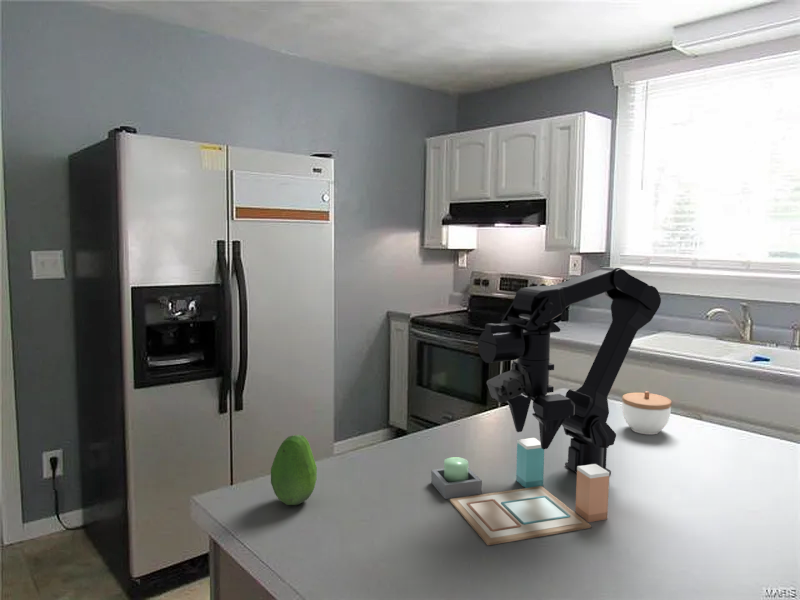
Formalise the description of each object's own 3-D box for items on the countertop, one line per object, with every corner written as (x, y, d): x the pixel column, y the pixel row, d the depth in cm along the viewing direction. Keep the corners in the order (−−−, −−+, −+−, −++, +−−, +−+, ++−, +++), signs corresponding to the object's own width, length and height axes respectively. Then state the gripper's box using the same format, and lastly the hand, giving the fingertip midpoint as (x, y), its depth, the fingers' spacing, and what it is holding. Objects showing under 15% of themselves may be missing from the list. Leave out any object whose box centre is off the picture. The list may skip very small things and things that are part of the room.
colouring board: (541, 488, 106) (541, 484, 106) (590, 527, 92) (591, 523, 92) (449, 501, 101) (449, 497, 101) (487, 545, 87) (487, 541, 87)
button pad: (465, 477, 111) (466, 465, 110) (481, 493, 104) (481, 480, 104) (431, 482, 109) (431, 469, 108) (445, 498, 102) (445, 485, 102)
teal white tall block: (533, 478, 111) (534, 437, 110) (543, 486, 107) (544, 444, 106) (516, 480, 110) (517, 439, 109) (525, 488, 106) (527, 446, 105)
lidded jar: (678, 438, 132) (680, 398, 131) (630, 438, 132) (632, 398, 131) (658, 423, 143) (660, 385, 142) (614, 422, 143) (616, 385, 142)
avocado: (325, 496, 103) (324, 430, 102) (303, 516, 96) (302, 446, 94) (285, 489, 106) (284, 425, 104) (261, 508, 98) (259, 440, 97)
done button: (462, 471, 109) (462, 456, 108) (472, 481, 105) (472, 465, 104) (440, 474, 108) (440, 458, 107) (449, 484, 103) (449, 467, 103)
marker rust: (593, 509, 98) (595, 463, 98) (607, 519, 95) (609, 472, 94) (575, 512, 97) (577, 466, 96) (588, 522, 94) (590, 474, 93)
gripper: (471, 350, 112) (470, 428, 114) (518, 372, 94) (516, 464, 96) (523, 346, 115) (521, 422, 117) (578, 367, 98) (575, 456, 100)
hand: (531, 439), depth 108 cm, fingers open, 9 cm apart
